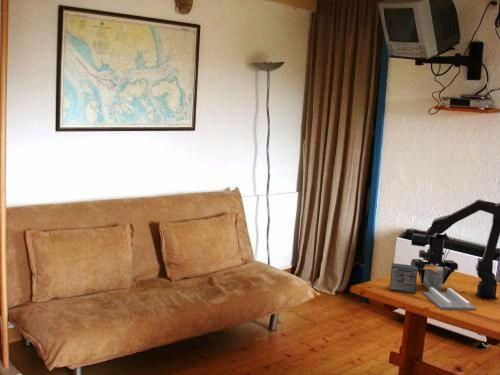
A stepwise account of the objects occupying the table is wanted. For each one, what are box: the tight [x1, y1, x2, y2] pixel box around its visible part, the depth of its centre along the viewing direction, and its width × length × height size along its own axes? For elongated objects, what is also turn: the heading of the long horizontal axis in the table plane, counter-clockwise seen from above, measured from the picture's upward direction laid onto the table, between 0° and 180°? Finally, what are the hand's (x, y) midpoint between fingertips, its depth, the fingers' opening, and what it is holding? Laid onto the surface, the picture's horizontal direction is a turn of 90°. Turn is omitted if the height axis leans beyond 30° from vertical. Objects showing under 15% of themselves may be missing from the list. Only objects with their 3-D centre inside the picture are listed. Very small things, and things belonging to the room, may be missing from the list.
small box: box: [388, 262, 418, 294], centre depth 255 cm, size 11×6×10 cm, turn 74°
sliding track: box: [422, 287, 476, 311], centre depth 244 cm, size 14×18×3 cm
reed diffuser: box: [435, 238, 456, 276], centre depth 274 cm, size 10×7×20 cm
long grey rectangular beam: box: [422, 268, 443, 292], centre depth 260 cm, size 4×12×7 cm, turn 6°
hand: (432, 283), depth 260 cm, fingers open, 9 cm apart
